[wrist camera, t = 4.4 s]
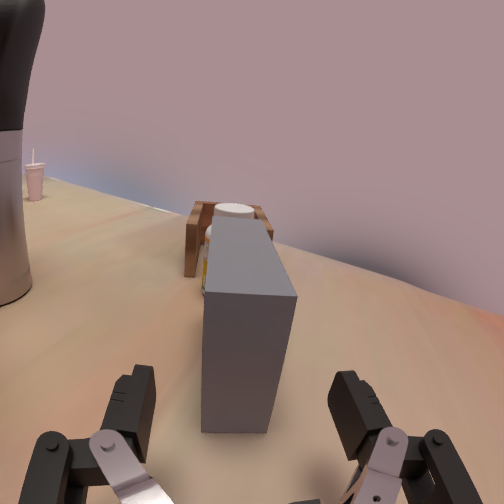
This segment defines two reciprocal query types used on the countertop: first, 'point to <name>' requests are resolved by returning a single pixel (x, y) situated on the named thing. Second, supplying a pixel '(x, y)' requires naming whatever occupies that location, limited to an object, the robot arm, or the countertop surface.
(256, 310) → the grey rectangular box
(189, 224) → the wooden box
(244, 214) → the supplement bottle
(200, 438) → the countertop surface
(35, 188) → the smoothie
